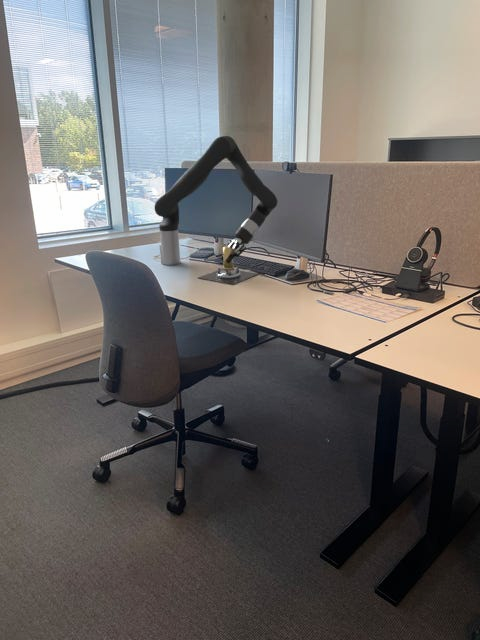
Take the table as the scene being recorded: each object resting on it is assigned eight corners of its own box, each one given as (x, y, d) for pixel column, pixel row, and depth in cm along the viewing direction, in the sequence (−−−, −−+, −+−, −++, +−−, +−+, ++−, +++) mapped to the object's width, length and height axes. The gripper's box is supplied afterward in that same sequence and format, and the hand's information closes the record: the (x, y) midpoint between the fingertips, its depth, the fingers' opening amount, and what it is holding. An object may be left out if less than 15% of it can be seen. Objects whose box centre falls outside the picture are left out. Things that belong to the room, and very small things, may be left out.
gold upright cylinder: (220, 269, 207) (219, 248, 204) (227, 267, 211) (226, 245, 208) (229, 271, 204) (228, 249, 201) (236, 268, 208) (235, 247, 205)
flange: (197, 278, 207) (197, 269, 206) (224, 268, 222) (224, 260, 221) (233, 285, 196) (232, 275, 194) (258, 274, 211) (258, 265, 209)
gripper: (234, 223, 210) (212, 253, 209) (249, 228, 198) (226, 259, 197) (244, 234, 214) (222, 262, 213) (260, 238, 203) (237, 269, 202)
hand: (224, 260), depth 205 cm, fingers closed on gold upright cylinder, 4 cm apart
